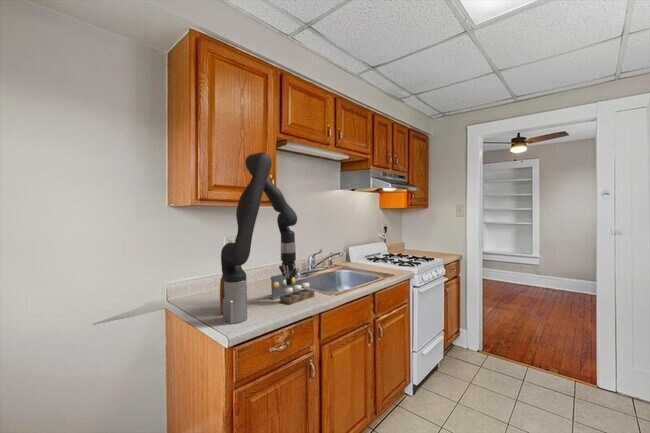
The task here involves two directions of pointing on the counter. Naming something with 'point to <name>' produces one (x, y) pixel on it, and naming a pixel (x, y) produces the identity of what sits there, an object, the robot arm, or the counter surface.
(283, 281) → the pattern card
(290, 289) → the button near
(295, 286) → the button mid
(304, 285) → the button far
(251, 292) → the counter surface
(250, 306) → the counter surface
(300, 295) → the button board
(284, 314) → the counter surface
